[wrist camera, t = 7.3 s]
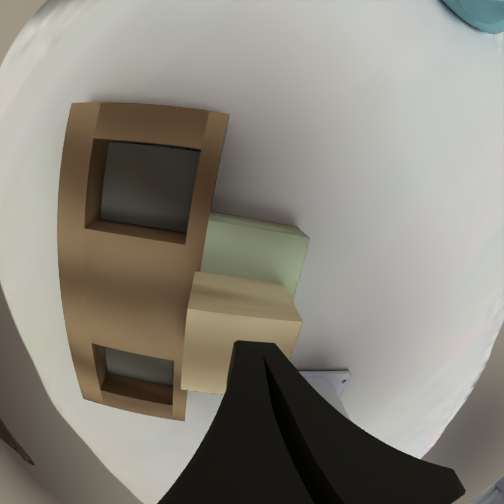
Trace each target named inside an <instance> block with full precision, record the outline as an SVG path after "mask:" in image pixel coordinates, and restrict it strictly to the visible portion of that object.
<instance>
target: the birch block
mask: <svg viewBox="0 0 504 504" xmlns="http://www.w3.org/2000/svg"><path fill="white" fill-rule="evenodd" d="M302 323H303V321H302V319H301V317H300V315H299V313H298V311H297V309H296V307H295V305H294V303H293V301H292V299H291V297H290V295H289V293H288V291H287V289H286V287H285V285H284V284H281V283H273V282H266V281H259V280H252V279H245V278H238V277H231V276H224V275H218V274H211V273H204V272H198V271H195V274H194V278H193V283H192V288H191V293H190V298H189V303H188V309H187V318H186V328H185V338H184V350H183V362H182V376H181V389H182V390H189V391H197V392H206V393H215V394H225V391H226V386H227V376H228V371H229V366H230V360H231V355H232V350H233V344H234V342H236V341H237V340H243V341H255V342H270V343H275V344H276V345H277V346H278V347H279V348H280V350H281V351H282V352H283V353H284V355H285V356H286V357H287V358H288V360H290V357H291V354H292V352H293V349H294V346H295V343H296V341H297V338H298V335H299V332H300V329H301V326H302Z"/></svg>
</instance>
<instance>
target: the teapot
mask: <svg viewBox="0 0 504 504" xmlns="http://www.w3.org/2000/svg"><path fill="white" fill-rule="evenodd" d="M442 1H443V2H444V3H445V4H446V5H447V6H448V7H449V8H450V9H451V10H452V11H453V12H454V13H455V14H457V15H458V16H459V17H460V18H461V19H463V20H464V21H465V22H467V23H468V24H470V25H472V26H474V27H476V28H478V29H480V30H482V31H484V32H486V33H490V34H497V33H500V32H503V31H504V0H442Z"/></svg>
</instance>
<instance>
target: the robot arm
mask: <svg viewBox="0 0 504 504" xmlns="http://www.w3.org/2000/svg"><path fill="white" fill-rule="evenodd" d="M350 376H351V374H350V372H349V371H298V370H297V369H296V368H295V367H294V366H293V364H292V363H291V362H290V361H289V360H288V358H287V357H286V356H285V355H284V353H283V352H282V351H281V350H280V348H279V347H278V346H277V345H276V344H275V343H270V342H255V341H243V340H237V341H236V342H234V344H233V350H232V355H231V360H230V366H229V371H228V376H227V386H226V391H225V394H224V397H223V399H222V402H221V404H220V407H219V409H218V411H217V414H216V416H215V418H214V420H213V422H212V424H211V426H210V428H209V430H208V432H207V434H206V435H205V437H204V439H203V441H202V442H201V444H200V446H199V448H198V449H197V451H196V453H195V454H194V456H193V457H192V459H191V460H190V462H189V463H188V465H187V466H186V468H185V469H184V470H183V472H182V473H181V475H180V476H179V477H178V479H177V480H176V482H175V483H174V484H173V486H172V487H171V488H170V489H169V491H168V492H167V493H166V494H165V495H164V496H163V498H162V499H161V500H160V501H159V502H158V503H157V504H451V503H453V502H454V501H456V500H457V499H458V498H460V497H461V496H463V495H464V494H465V491H466V490H465V489H464V487H463V485H462V483H461V482H460V480H459V478H458V477H457V475H456V473H455V472H454V470H453V469H450V468H447V467H443V466H440V465H436V464H433V463H429V462H426V461H423V460H420V459H418V458H415V457H413V456H411V455H408V454H406V453H404V452H401V451H399V450H397V449H395V448H393V447H391V446H389V445H387V444H385V443H384V442H382V441H380V440H379V439H377V438H375V437H374V436H372V435H370V434H369V433H367V432H366V431H364V430H363V429H361V428H360V427H358V426H357V425H356V424H354V423H353V422H352V421H350V419H349V417H348V415H347V413H346V411H345V409H344V407H343V404H342V402H341V400H340V398H339V396H340V395H341V393H342V391H343V389H344V387H345V386H346V384H347V382H348V380H349V378H350ZM469 504H504V475H503V476H501V477H500V478H499V479H498V480H497V481H496V482H495V483H493V484H491V485H490V486H489V487H488V488H486V489H485V490H484V491H483V492H481V494H479V495H478V496H477V497H475V498H474V499H473V500H472V501H470V503H469Z"/></svg>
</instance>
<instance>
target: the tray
mask: <svg viewBox="0 0 504 504" xmlns="http://www.w3.org/2000/svg"><path fill="white" fill-rule="evenodd" d="M228 119H229V114H225V113H219V112H212V111H206V110H199V109H191V108H183V107H174V106H164V105H152V104H136V103H72V104H71V109H70V113H69V118H68V123H67V128H66V134H65V140H64V146H63V153H62V161H61V169H60V180H59V193H58V215H57V243H58V266H59V279H60V289H61V298H62V306H63V313H64V319H65V325H66V331H67V336H68V341H69V346H70V351H71V355H72V359H73V364H74V368H75V371H76V375H77V379H78V382H79V386H80V389H81V393H82V396H83V399H86V400H89V401H93V402H96V403H99V404H103V405H107V406H110V407H114V408H118V409H122V410H126V411H131V412H135V413H140V414H145V415H150V416H155V417H160V418H166V419H173V420H180V421H185V409H186V397H187V390H182V389H181V376H182V362H183V350H184V338H185V328H186V318H187V309H188V303H189V298H190V293H191V288H192V283H193V278H194V274H195V271H198V272H204V273H211V274H218V275H224V276H231V277H238V278H245V279H252V280H259V281H266V282H273V283H281V284H284V285H285V287H286V289H287V291H288V293H289V295H290V297H291V299H292V300H293V297H294V294H295V290H296V287H297V283H298V280H299V276H300V273H301V269H302V265H303V262H304V258H305V254H306V251H307V247H308V243H309V239H310V238H309V237H308V236H307V235H306V234H305V233H304V232H302V231H301V230H300V229H299V228H298V227H294V226H289V225H283V224H278V223H273V222H267V221H262V220H256V219H251V218H245V217H239V216H234V215H228V214H222V213H216V212H210V210H211V205H212V199H213V194H214V188H215V183H216V178H217V172H218V167H219V162H220V157H221V152H222V147H223V143H224V138H225V133H226V129H227V124H228ZM110 141H122V142H134V143H145V144H154V145H163V146H171V147H179V148H186V149H193V150H200V151H201V152H197V151H190V150H183V149H175V148H167V147H159V146H150V145H140V144H129V143H116V142H110Z"/></svg>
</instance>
